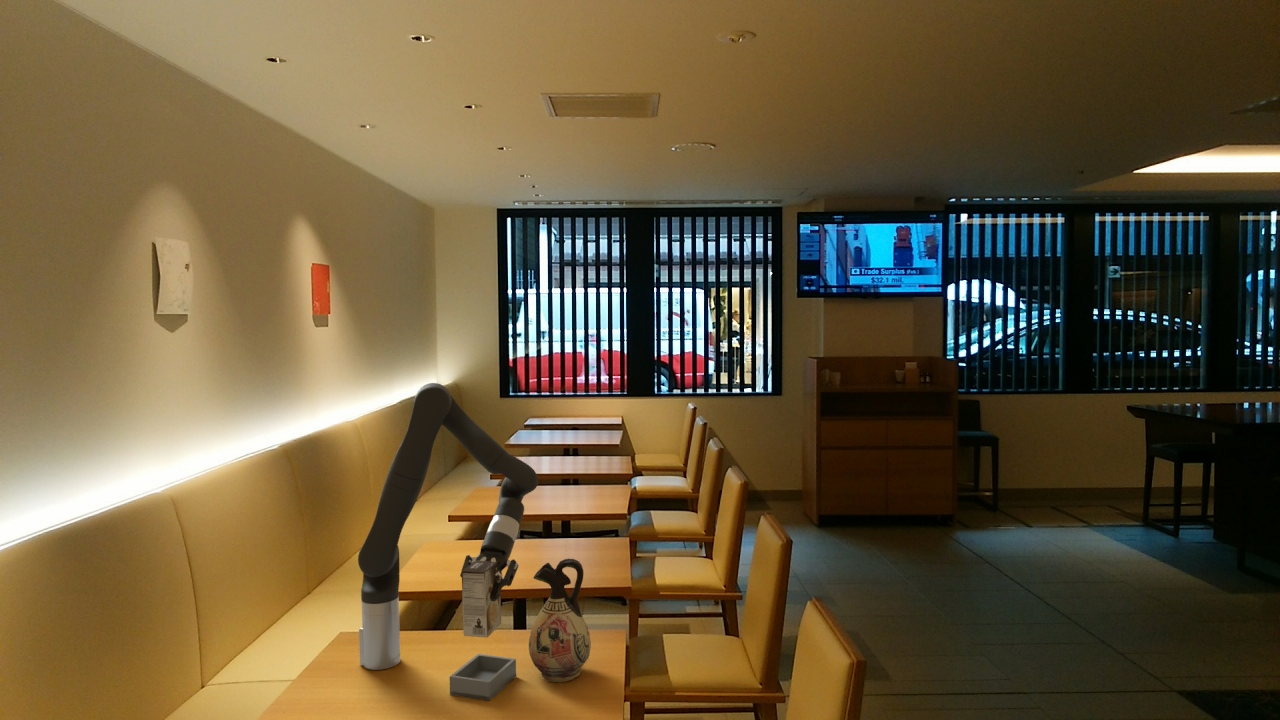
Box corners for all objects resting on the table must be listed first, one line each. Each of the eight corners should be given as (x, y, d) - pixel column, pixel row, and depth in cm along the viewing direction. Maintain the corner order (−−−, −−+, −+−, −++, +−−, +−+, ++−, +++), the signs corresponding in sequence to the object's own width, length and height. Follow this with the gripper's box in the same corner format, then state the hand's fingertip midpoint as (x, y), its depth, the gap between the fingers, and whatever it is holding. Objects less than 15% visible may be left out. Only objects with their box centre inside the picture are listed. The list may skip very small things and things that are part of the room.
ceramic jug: (524, 689, 197) (521, 567, 195) (534, 662, 212) (532, 548, 211) (594, 689, 197) (592, 566, 195) (599, 662, 212) (598, 548, 210)
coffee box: (477, 622, 204) (476, 558, 203) (502, 623, 203) (500, 560, 202) (462, 636, 195) (460, 570, 194) (487, 638, 194) (486, 571, 193)
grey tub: (449, 695, 194) (449, 676, 194) (478, 671, 207) (478, 653, 207) (489, 701, 191) (489, 682, 191) (516, 676, 204) (515, 658, 204)
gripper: (469, 527, 207) (446, 588, 196) (521, 531, 202) (500, 594, 192) (480, 542, 212) (458, 602, 202) (531, 547, 208) (510, 608, 197)
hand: (478, 598), depth 197 cm, fingers closed on coffee box, 6 cm apart
